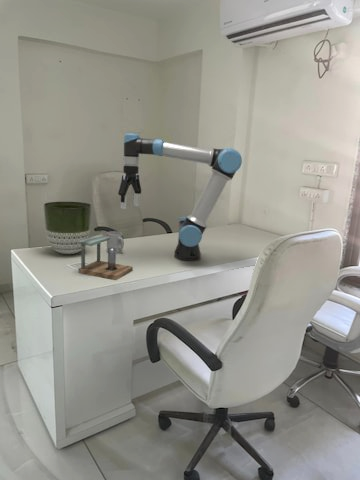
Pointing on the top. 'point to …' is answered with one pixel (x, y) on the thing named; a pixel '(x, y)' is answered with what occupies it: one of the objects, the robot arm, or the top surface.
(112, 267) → the peg
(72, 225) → the planter
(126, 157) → the robot arm
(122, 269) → the peg stand
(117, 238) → the mug
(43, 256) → the top surface
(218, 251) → the top surface
